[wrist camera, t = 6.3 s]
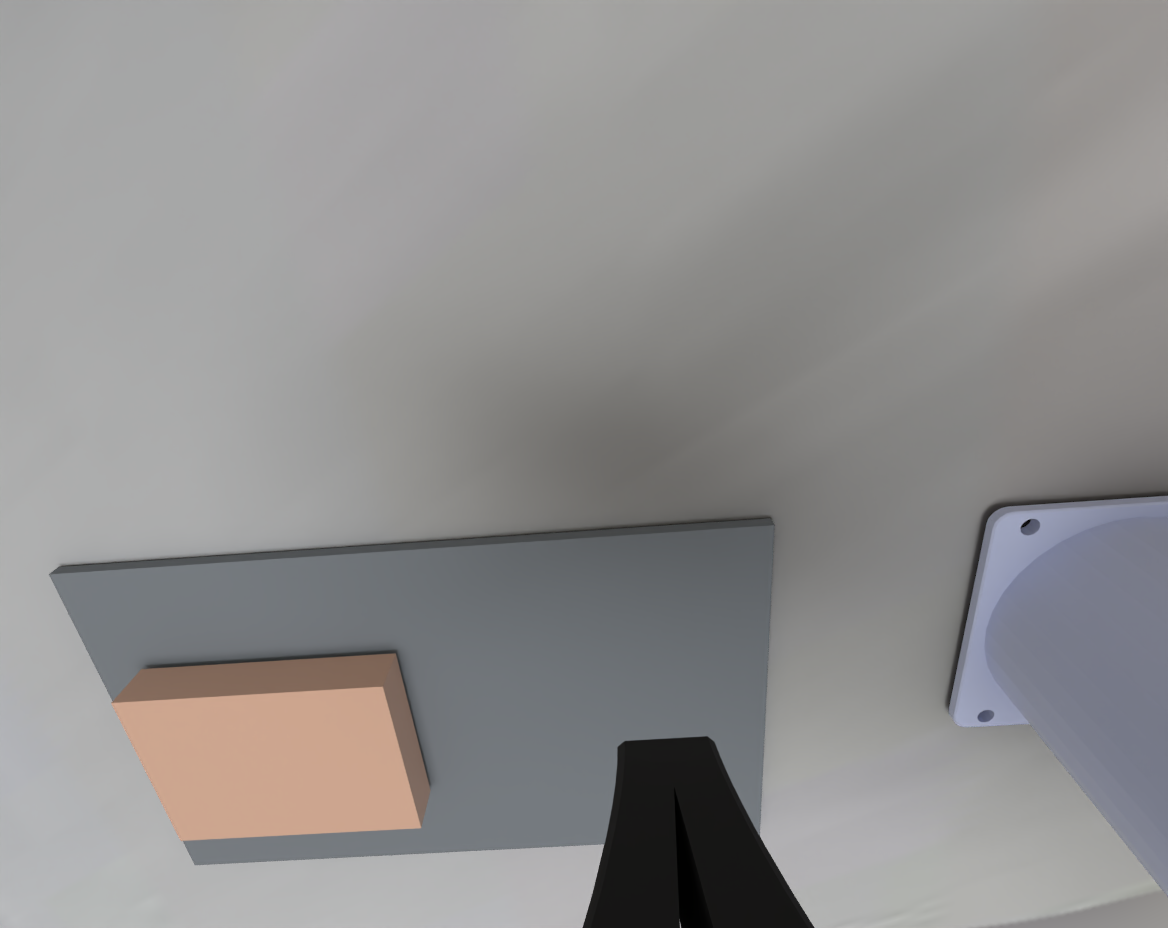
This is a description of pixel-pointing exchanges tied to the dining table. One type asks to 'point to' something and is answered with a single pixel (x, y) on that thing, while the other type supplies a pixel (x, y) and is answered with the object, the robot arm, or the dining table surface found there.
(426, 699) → the mat
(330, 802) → the tile
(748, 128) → the dining table surface
